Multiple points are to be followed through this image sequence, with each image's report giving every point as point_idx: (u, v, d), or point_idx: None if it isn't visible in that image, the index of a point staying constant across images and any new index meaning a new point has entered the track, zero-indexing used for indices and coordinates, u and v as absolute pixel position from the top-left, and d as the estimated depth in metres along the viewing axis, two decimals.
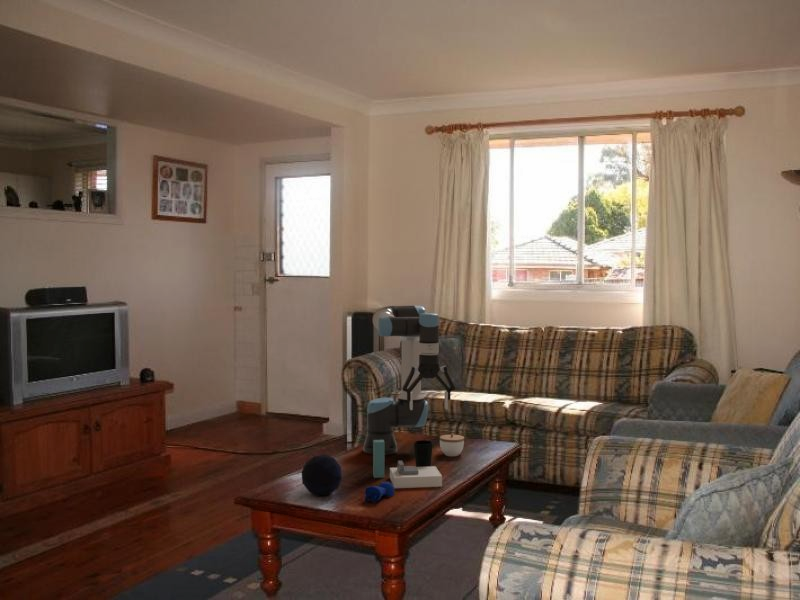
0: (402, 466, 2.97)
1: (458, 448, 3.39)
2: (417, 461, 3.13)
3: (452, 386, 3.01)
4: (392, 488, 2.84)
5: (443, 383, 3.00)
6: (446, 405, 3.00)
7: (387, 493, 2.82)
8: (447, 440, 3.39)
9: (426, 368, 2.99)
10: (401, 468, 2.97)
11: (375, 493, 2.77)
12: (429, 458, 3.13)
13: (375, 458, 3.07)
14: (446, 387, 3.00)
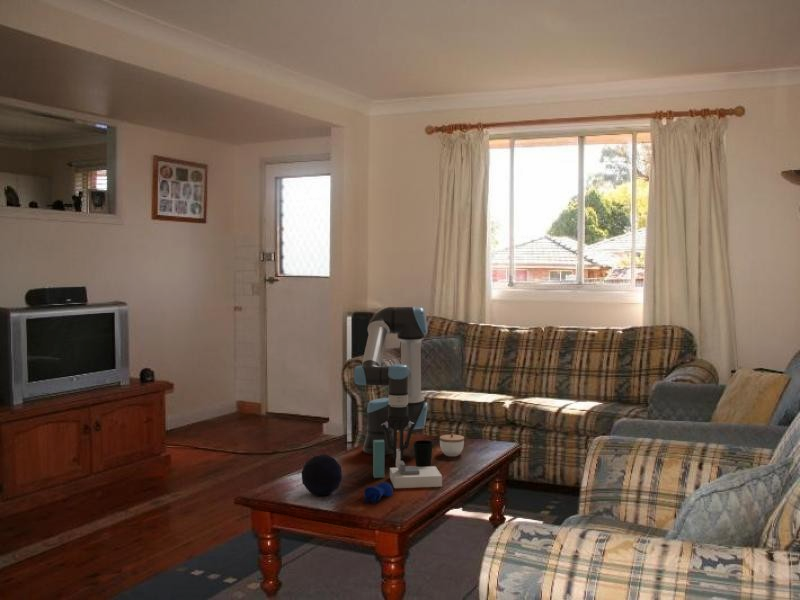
0: (403, 466, 2.97)
1: (458, 448, 3.39)
2: (417, 461, 3.13)
3: (406, 444, 2.99)
4: (391, 488, 2.83)
5: (402, 439, 2.98)
6: (399, 463, 2.98)
7: (386, 493, 2.82)
8: (447, 440, 3.39)
9: (393, 417, 2.97)
10: (402, 468, 2.97)
11: (375, 494, 2.77)
12: (429, 458, 3.13)
13: (375, 458, 3.07)
14: (401, 444, 2.98)
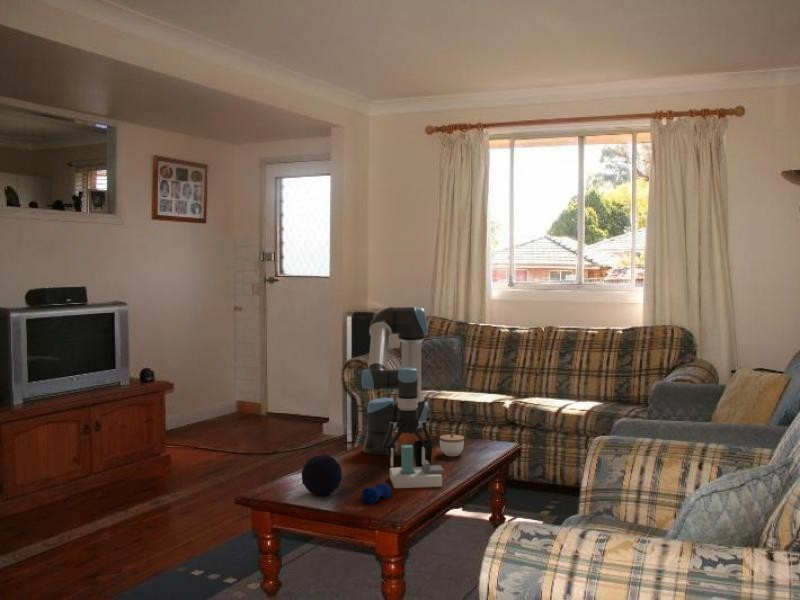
0: (428, 465, 2.98)
1: (458, 448, 3.39)
2: (417, 461, 3.13)
3: (429, 442, 3.00)
4: (389, 489, 2.82)
5: (421, 439, 2.99)
6: (423, 461, 3.00)
7: (384, 494, 2.81)
8: (447, 440, 3.39)
9: (405, 423, 2.98)
10: (427, 467, 2.98)
11: (372, 495, 2.75)
12: (429, 458, 3.13)
13: (404, 464, 2.98)
14: (423, 443, 2.99)
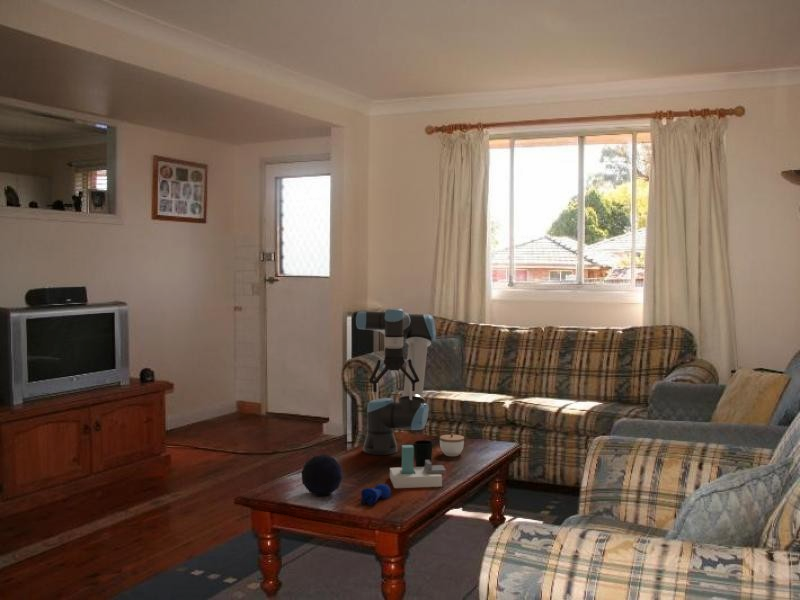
0: (430, 465, 2.98)
1: (458, 448, 3.39)
2: (417, 461, 3.13)
3: (416, 378, 3.16)
4: (388, 490, 2.81)
5: (408, 375, 3.16)
6: (410, 396, 3.16)
7: (383, 495, 2.80)
8: (447, 440, 3.39)
9: (391, 361, 3.14)
10: (429, 467, 2.98)
11: (371, 495, 2.75)
12: (429, 458, 3.13)
13: (404, 464, 2.98)
14: (410, 379, 3.16)
